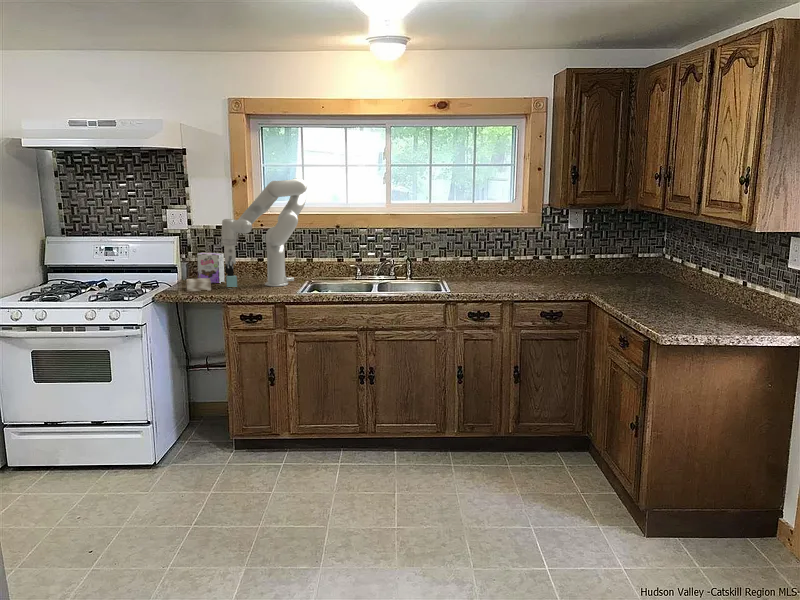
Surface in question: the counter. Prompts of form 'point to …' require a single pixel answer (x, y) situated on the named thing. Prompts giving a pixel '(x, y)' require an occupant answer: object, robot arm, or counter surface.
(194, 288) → the birch block
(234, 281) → the teal block
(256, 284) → the counter surface
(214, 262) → the candy box
